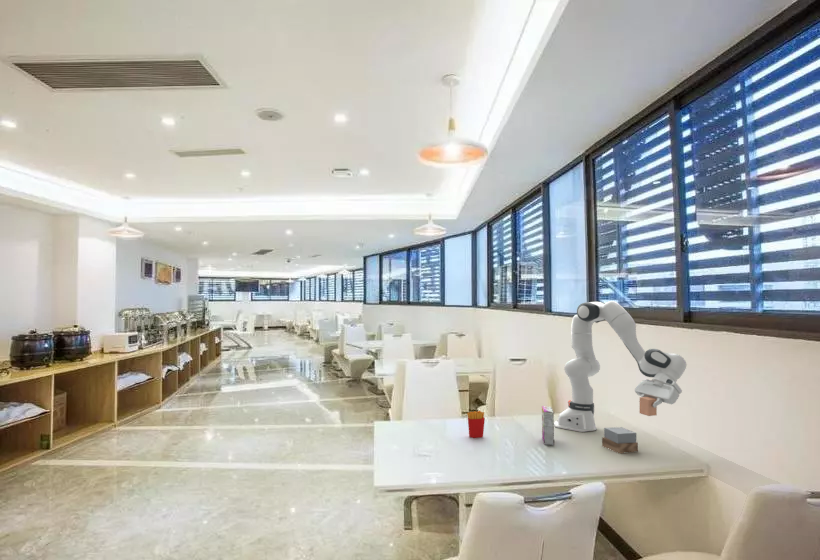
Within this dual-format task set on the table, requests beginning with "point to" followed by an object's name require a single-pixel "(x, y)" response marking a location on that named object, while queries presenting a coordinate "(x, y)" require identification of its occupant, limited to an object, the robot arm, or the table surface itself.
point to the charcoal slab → (620, 435)
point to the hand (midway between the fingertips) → (646, 404)
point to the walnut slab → (619, 446)
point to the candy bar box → (547, 425)
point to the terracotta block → (647, 406)
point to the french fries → (476, 424)
